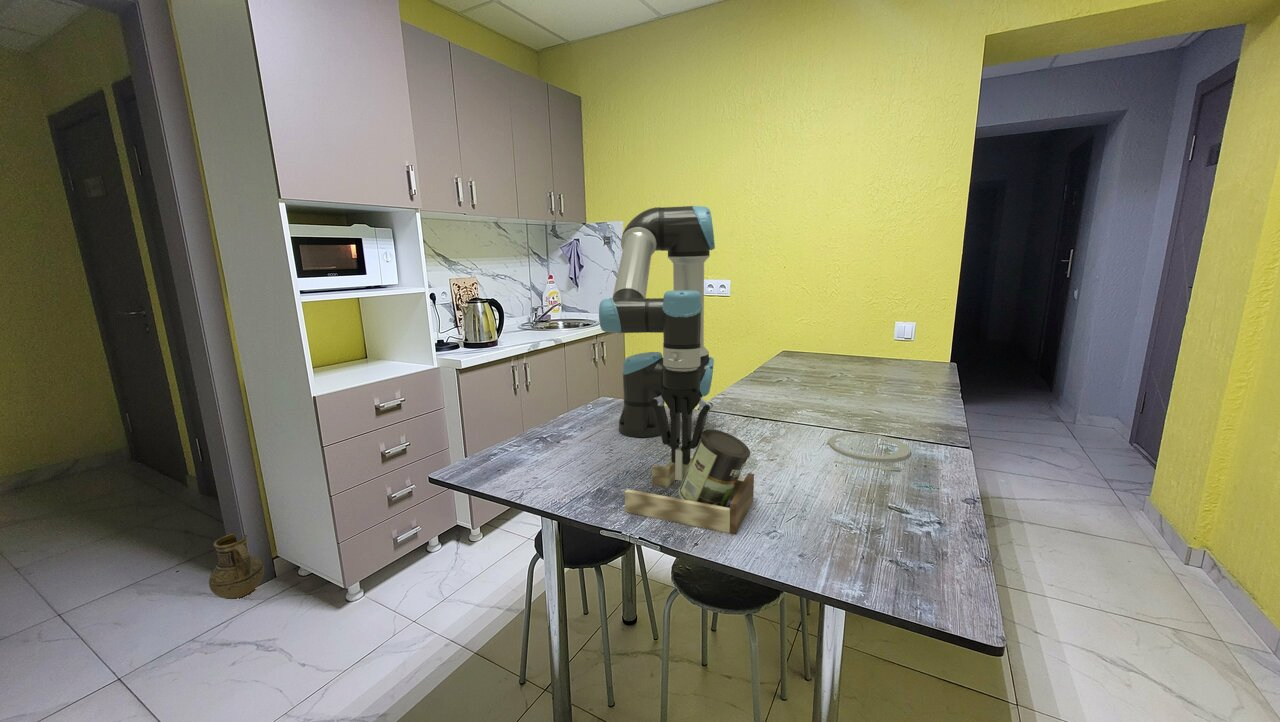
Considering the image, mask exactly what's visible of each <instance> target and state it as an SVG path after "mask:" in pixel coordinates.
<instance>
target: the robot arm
mask: <svg viewBox="0 0 1280 722" xmlns="http://www.w3.org/2000/svg"><path fill="white" fill-rule="evenodd" d="M711 212H712V211H711V210H710V208H708V207H707V206H705V205H703V206H701V205H699V206H697V205H688V206H684V205H683V206H665V207H664V206H663V207H660V206H657V207H652V208H648V209H645V210H644V211H642V212H640V213H638V215H637V214H636V216H634V217H633V218H632V219H631V220H630V221H629V223H628V224H627V225H626V226H625V227H624V230H623V232H622V234H621V239H620V247H621V250H622V252H621V257H620V260H619V261H620V262H619V267H618V271H617V276H616V280H615V283H614V284H615V285H614V290H613V293H612V297H610V298H605V299H602V300H600V303H599V306H598V307H599V308H598V320H599V321H598V322H599V326H600V329H601V331H602V332H604V333H615V334H634V333H635V334H636V333H637V334H640V333H645V334H646V333H652V334H653V333H657V334H658V333H660V334H661V333H662V334H663V344H662V347H663V348H662V352H663V353H662V352H660V351H659V352H658V351H647V352H642V353H640V352H639V353H637V354H632V355H629V356H627V357H626V358H625V359H624V360H623V362H622V364H623V365H622V373H621V374H622V379H623V380H622V383H623V385H622V387H623V406H622V410H621V414H620V418H619V420H618V432H619V433H621V434H622V435H625V436H629V437H635V438H648V437H656V436H660V437H661V440H662V441H661V442H662V444H663V445H665V446H666V445H667V446H669V447H670V449H671V452H670V453H671V456H670V457H671V460H670V461H672V463H675V480H676V481H681V482H682V481H683V479H684V477H685V474H686V465H688V463H689V462H690V456H691V450H692V449H693V450H694V449H695V450H696V448H697V446H698V443H699V441H700V438H701V434H702V432H703V431H704V429H705V424H706V421H707V417H708V414H709V412H710V411H711V410H712V408H713V405H714V404H713V403H712V402H708V401H706V400H705V399H704V398H703V397H706V396H708V395H709V393H710V392H711V388H712V382H713V372H714V365H715V360H714V357H712V356H710V355H709V354H710V351H709V350H708V349H707V348H706V347H705V345H704V343H705V342H704V340H705V338H704V337H705V333H704V331H705V325H704V323H705V320H704V319H705V318H704V317H705V310H704V308H705V263H706V261H707V260H708V259H709V258H710V256H711V255H710V251H713V250H715V249H716V246H715V243H716V242H715V235H714V227H713V225H714V224H713V219H712V213H711ZM655 251H656V252H657V251H661V252H663V251H664V252H665V251H666V252H667V258H668V259H669V261H671V263H672V267H673V275H672V276H673V278H672V279H673V290H667V291H665V292H664V293H663V297H662V298H659V297H658V298H657V297H655V298H650V297H649V298H647V297H646V296H647V290H648V281H649V277H650V276H649V275H650V269H651V261H652V256H653V255H654V253H655ZM665 404H666V406H667V408H668V409H669V417H670V424H669V419H668V414H667V411H666V406H665ZM697 406H698V410H699V413H698V416H697V419H696V423H695V427H694V430H692V426H693V424H692V421H693V419H692V417H693V412H694V410H695V408H696V407H697ZM681 419H682V420H681ZM681 430H682V431H681ZM692 431H693V432H692ZM675 480H674V481H675Z"/></svg>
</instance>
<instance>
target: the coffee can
mask: <svg viewBox="0 0 1280 722" xmlns="http://www.w3.org/2000/svg"><path fill="white" fill-rule="evenodd" d="M750 455H751V450H750V448H749V446H748V445H747V444H745V443H744V442H743V441H742V440H741V439H739V438H738V437H736V436H734V435H732V434H730V433H727V432H725V431H722V430H719V429H711V428H710V429H709V428H708V429H705V430H704V429H703V432H702V434H701V438H700V441H699V443H698V446H697V447H696V448H695V451H694V453H693V455H692V456H693V457H692V460H691V462H690V464H689V467H688V469H687V472H686V474H685V477H684V479H683V480H682V481H681V483H680V484H681V486H679V488H678V489H677V490H678V496H679V499H684V500H689V501H695V502H700V503H706V504H711V505H717V506H722V507H726V506H727V504H728V501H729V499H730V498H729V497H730V495H731V493H732V491H733V489H734V486H735V484H736V482H737V480H738V478H740V476H741V473H742V471H743V469H744V467H745V464H746V462H747V460H748V459H749V457H750Z"/></svg>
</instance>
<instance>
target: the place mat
mask: <svg viewBox="0 0 1280 722" xmlns="http://www.w3.org/2000/svg"><path fill="white" fill-rule="evenodd" d="M847 436H864V437H873V438H875V439H876V438H878V439H881V440H884V441H888V442H889V443H892V444H894V445H896V446H897V451H895V452H894V453H891V454H886V455H867V454H860V453H856V452H851V451H848V450H845V449H843V448H841V447H839V446H837V445H836V444H835V443H836V441H837V439H839V438H843V437H847ZM827 441H828V446H829V447H830V448H831V449H832V450H833V451H834V452H836V453H837V454H840V455H842V456H845V457H848V458H851V459H854V460H858V461H864V462H869V463H897V462H902V461H905V460H906V459H908V458H909V457H910V456H911V448H910V447H909V445H908V444H906V443H904V442H903V441H901V440H898V439H896V438H892V437H889V436H885V435H880V434H873V433H867V432H866V433H865V432H844V433H837V434H835V435H832V436H830V438H829V439H828V440H827ZM833 463H835V464H840V465H848V466H853V467H854V466H856V467H861V468H870V469H876V470H884V471H902V470H903V469H902V466H901V465H900V466H879V465H873V464H864V463H855V462H846V463H845V462H843V461H839V460H833ZM928 486H929V487H932V486H933V485H917V487H918V488H919V487H920V488H926V489H930V488H929V487H928ZM932 488H933V487H932ZM932 488H931V489H932ZM933 489H935V488H933ZM933 489H932V490H933ZM939 489H940V487H939V488H937V489H935V490H939Z"/></svg>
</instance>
